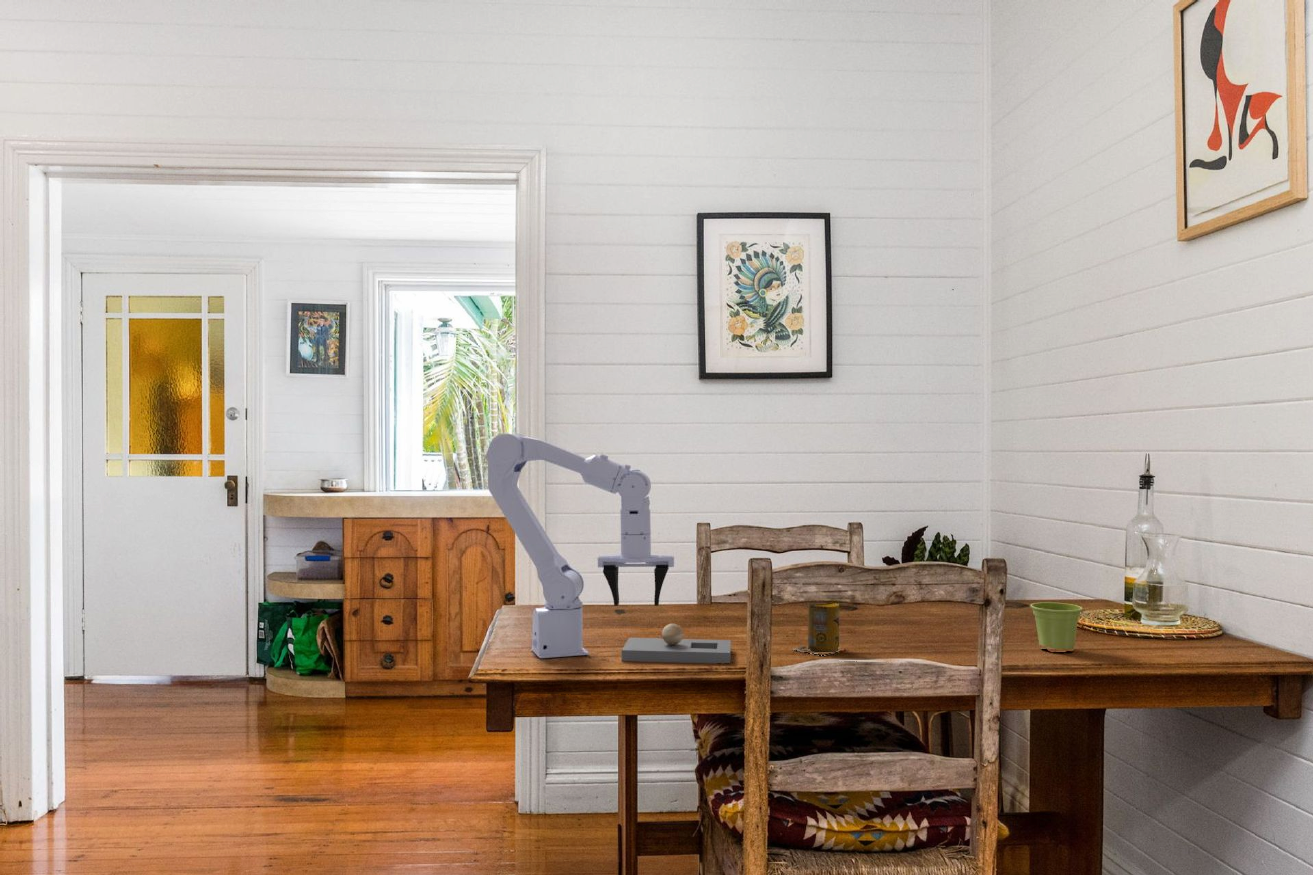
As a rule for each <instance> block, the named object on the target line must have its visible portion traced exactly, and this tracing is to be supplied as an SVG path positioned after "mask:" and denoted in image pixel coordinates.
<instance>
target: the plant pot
mask: <svg viewBox="0 0 1313 875" xmlns="http://www.w3.org/2000/svg"><path fill="white" fill-rule="evenodd" d="M1029 605H1030V608H1031V609H1032V612H1033V615H1034V619H1035V625H1036V626H1035V627H1036V632H1037V638H1038V645H1042V646H1044V647H1050V648H1054V649H1073V648H1074V649H1075V642H1076V636H1077V629H1078V621H1079V618H1080V615H1081V612H1082V611H1083V607H1082V606H1080V605H1077V604H1071V603H1063V602H1051V601H1050V602H1046V601H1045V602H1034V603H1030V604H1029Z"/></svg>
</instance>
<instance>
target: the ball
mask: <svg viewBox="0 0 1313 875" xmlns="http://www.w3.org/2000/svg"><path fill="white" fill-rule="evenodd" d="M683 636H684V632H683V629H682V627H681V626H680V625H678V624H676V623H669V624H666V625H665V626H664V628H663V629H662V631H661V638H663V640H664V641H665V642H666V643H667V644H669V645H676V644H678V643H679V642H680V641H681V640H682V639H684V638H683Z"/></svg>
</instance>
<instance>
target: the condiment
mask: <svg viewBox="0 0 1313 875" xmlns="http://www.w3.org/2000/svg"><path fill="white" fill-rule="evenodd" d="M807 604H808V603H807ZM806 647H808V649H810V650H811V651H812V652H836V651H838V650H839V648H840V604H839V603H838V604H837V603H827V604H808V605H807V646H800V647H795V648H792V650H794V651H796V650H797V652H801V653H804V652H807V650H803V651H802V649H805V648H806ZM798 649H799V650H798ZM811 651H808V652H811ZM814 654H818V653H814ZM814 654H812V653H810V654H809V655H814ZM822 654H823V653H822ZM827 654H828V653H827ZM828 655H829V654H828ZM830 655H833V653H831V654H830ZM824 656H826V655H824ZM824 656H822V655H821V657H824Z"/></svg>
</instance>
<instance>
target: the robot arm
mask: <svg viewBox="0 0 1313 875" xmlns="http://www.w3.org/2000/svg"><path fill="white" fill-rule="evenodd" d="M485 458H486V462H487V488H488V490H489V493H490V495H491V496H492V498H493V499H494V501H495V503H496V504H497V506H498V508H499V509H500V510H501V512H502V514H503V515H504V518H505V519H506V520H507V522H508V524H509V525H510V527H511V529H512V530H513V532H514V533H515V535H516V537H517V539H518V540H519V542H520V543H521V545H522V547H523V549H524V550H525V552H526V553H527V555H528V556H529V558H530V560H531V561H532V564H534V566H535V568H536V573H537V577H538V580H539V581H540V582H539V583H541V586H542V595H543V598H544V600H545V602H544V606H542V607H535V608H534V609H533V612H532V618H531V619H532V622H531V623H532V624H531V625H532V626H531V627H532V628H531V631H532V634H531V636H532V637H531V651H532V652H533V653H534V654H535V655H536V657H538V658H539V659H547V658H548V659H549V658H550V659H551V658H560V657H561V658H562V657H563V658H564V657H575V656H587V655H589V651H588V650H586V649H585V648H584V646H583V602H582V601H581V600H580V596H581V594H582V593H583V590H584V588H585V586H584V585H585V584H584V582H585V581H584V578H583V576H582V574H580V572H579V571H578V570H576V569H574V568H573V567H572V566H570V564H569V563H568V561H567V560H566V559H565V558H564V557H563V556H562V555H561V554H560V553H559V552H558V550H557V549H556V547H555V545H554V544H553V542H552V541H551V539H550V537H549V536H548V534H547V532H546V531H545V529H544V527H543V526H542V524H541V523H540V521H539V519H538V517H537V516H536V514H535V513H534V511H533V510H532V508H531V507H530V504H529V503H528V501H527V500H526V498H525V497H524V495H523V494H522V492H521V490H520V489H519V487H518V482H519V479H520V476H521V472H522V470H523V468H524V467H525V466H526V464H527V463H528V462H531V461H545V462H547V463H550V464H553V465H556V466H559V467H561V468H565V469H567V470H570V471H573V472H576V473H578V474H580V475H581V477H582V480H583V482H584V483H585V484H588V485H591V486H593V487H596V488H597V489H600V490H603V491H606V492H608V493H611V494H613V495H615V494H616V493H618V495H619V496H620V499H621V500H620V502H621V503H620V504H621V507H620V508H621V509H620V510H619V511H620V513H619V514H620V555H603V556H600V555H599V556H598V557H597V568H603V570H602V573H603V575H604V577H605V579H606V581H607V584H608V586H609V589H610V593H611V595H612V599H613V606H615V607H617V606H619V604H620V594H619V568H622V567H623V568H631V567H632V568H633V567H634V568H637V567H638V568H642V567H643V568H644V567H645V568H646V567H647V568H649V567H654V598H653V600H654V603H653V604H654V606H657V607H658V606H659V605H660V597H661V592H662V588H663V584H664V581H665V578H666V575H667V573H668V571H669V569H670V568H674V567H675V555H659V554H657V555H656V554H655V555H654V554H652V553H651V552H652V550H651V549H652V547H651V546H652V545H651V543H652V542H651V541H652V538H651V537H652V536H651V535H652V534H651V533H652V532H651V531H652V530H651V508H650V503H651V502H650V497H649V496H648V495H649V494H650V491H651V489H652V484H651V478H650V477H649V476H648V475H647V474H646V473H644V472H643V471H642V470H640V469H632V470H631V468H632V466H631V465H630V464H628V463H626V464H624V465H623V464H621V463H618V462H616V461H613V460H611V459H609V455H606V454H605V453H604V454H600V456H599V455H598V454H594V455H591V456H588V457H583V456H582V455H579V454H577V453H575V452H573V451H570V450H567V449H565V448H563V447H560V446H558V445H556V444H554V443H551V442H549V441H546V440H544V439H540V438H536V437H530V436H525V435H523V434H520V433H508V432H504V433H498V434H497V435H496V436H494V437H493V438H492V440H491V441H490V443H489V446H488V448H487V451H486V454H485Z"/></svg>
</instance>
